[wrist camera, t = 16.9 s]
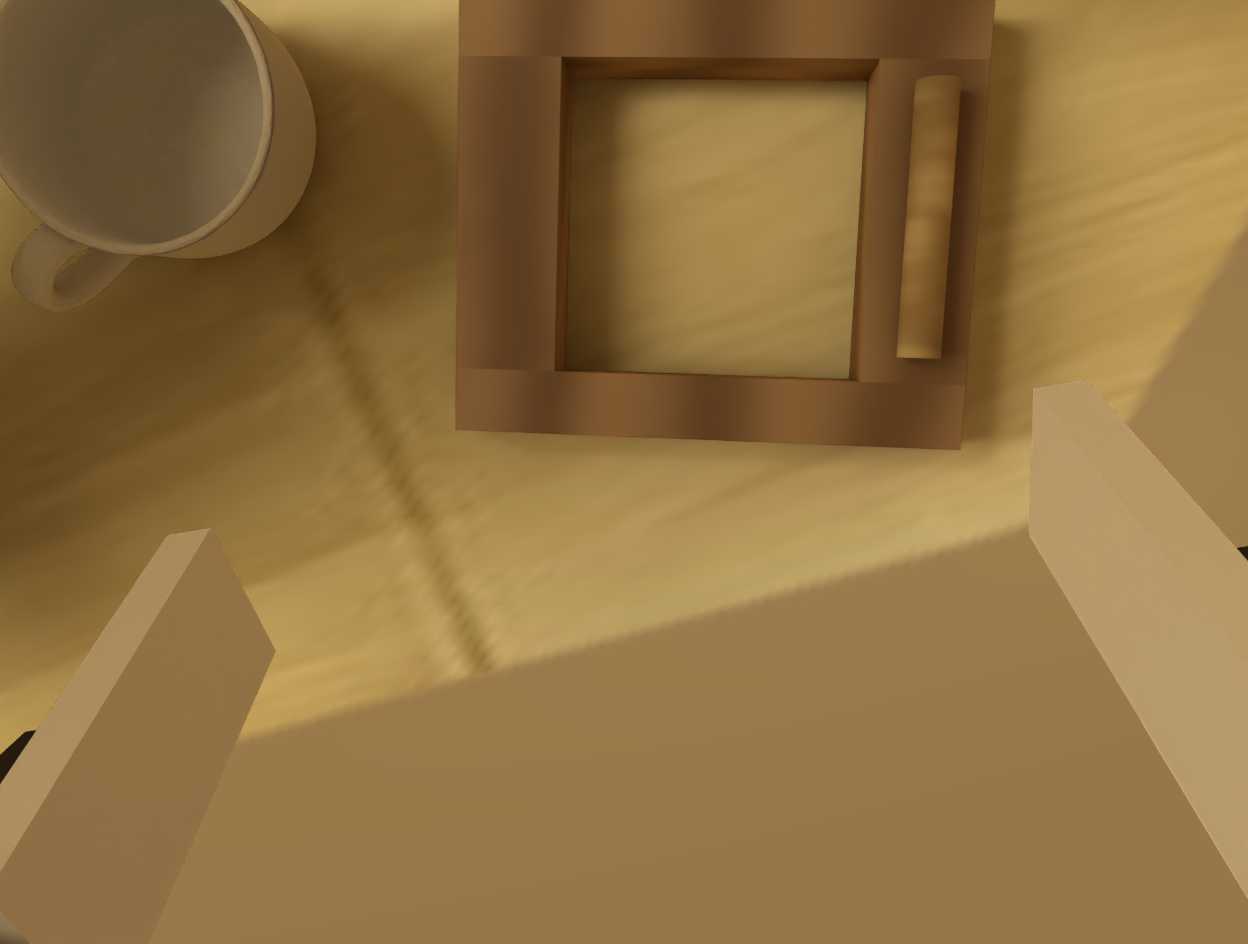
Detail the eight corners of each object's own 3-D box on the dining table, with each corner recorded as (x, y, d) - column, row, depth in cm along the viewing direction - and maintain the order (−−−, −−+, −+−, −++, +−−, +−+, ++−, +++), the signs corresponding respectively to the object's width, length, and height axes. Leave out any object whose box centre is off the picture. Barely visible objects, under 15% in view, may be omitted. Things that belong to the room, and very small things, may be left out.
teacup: (220, -43, 41) (101, -137, 33) (401, 144, 41) (326, 96, 33) (16, 197, 43) (-141, 164, 35) (190, 374, 43) (72, 380, 35)
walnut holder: (473, 423, 42) (444, 433, 38) (478, 14, 40) (448, -29, 35) (942, 442, 41) (970, 454, 36) (974, 15, 38) (1009, -29, 34)
